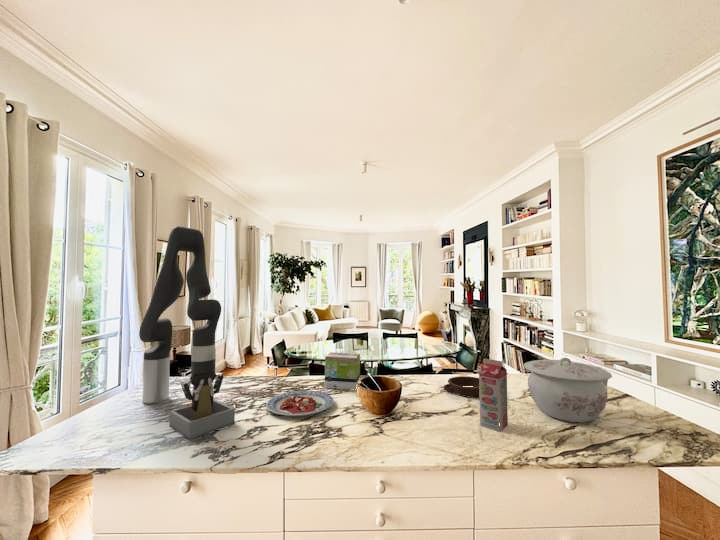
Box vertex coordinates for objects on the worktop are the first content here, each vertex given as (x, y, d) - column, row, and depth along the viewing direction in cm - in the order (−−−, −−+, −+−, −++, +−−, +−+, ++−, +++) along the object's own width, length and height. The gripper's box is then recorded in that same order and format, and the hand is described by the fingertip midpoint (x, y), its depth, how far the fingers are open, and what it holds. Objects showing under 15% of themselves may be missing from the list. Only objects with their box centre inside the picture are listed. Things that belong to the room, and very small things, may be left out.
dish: (503, 399, 135) (502, 387, 135) (450, 400, 134) (450, 388, 134) (485, 386, 152) (484, 375, 152) (438, 387, 151) (438, 376, 151)
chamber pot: (523, 421, 112) (522, 361, 113) (524, 397, 137) (523, 347, 138) (625, 439, 99) (623, 371, 100) (606, 409, 124) (605, 354, 125)
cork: (216, 414, 112) (217, 382, 113) (202, 421, 106) (203, 387, 107) (202, 412, 114) (203, 380, 115) (188, 419, 108) (189, 385, 109)
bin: (169, 426, 109) (169, 411, 109) (213, 412, 121) (213, 398, 121) (188, 439, 100) (189, 423, 100) (234, 423, 111) (234, 408, 111)
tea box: (324, 389, 148) (324, 356, 149) (329, 382, 158) (330, 351, 158) (356, 390, 145) (356, 357, 146) (360, 384, 155) (360, 352, 156)
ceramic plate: (251, 414, 119) (251, 406, 120) (291, 392, 143) (291, 386, 144) (312, 425, 110) (312, 417, 110) (344, 400, 134) (344, 393, 134)
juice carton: (488, 419, 114) (487, 356, 115) (507, 425, 109) (506, 359, 110) (479, 425, 109) (478, 359, 110) (499, 432, 105) (498, 363, 106)
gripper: (218, 353, 119) (217, 400, 118) (176, 360, 108) (175, 412, 107) (228, 355, 114) (228, 405, 114) (186, 363, 103) (185, 418, 103)
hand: (202, 408), depth 110 cm, fingers closed on cork, 4 cm apart
